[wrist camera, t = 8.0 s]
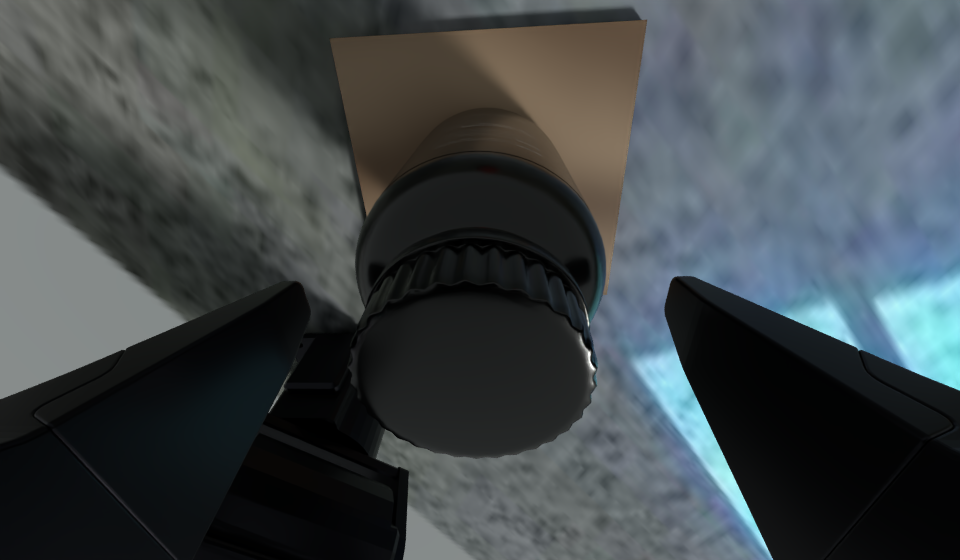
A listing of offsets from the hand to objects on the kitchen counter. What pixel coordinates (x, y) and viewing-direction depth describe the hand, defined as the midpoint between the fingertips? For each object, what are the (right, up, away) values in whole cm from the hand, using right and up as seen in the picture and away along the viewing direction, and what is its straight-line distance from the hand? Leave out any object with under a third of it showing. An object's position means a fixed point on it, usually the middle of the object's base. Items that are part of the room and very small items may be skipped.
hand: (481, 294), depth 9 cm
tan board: (0, +5, +8) cm, 10 cm away
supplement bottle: (0, +5, +8) cm, 10 cm away
